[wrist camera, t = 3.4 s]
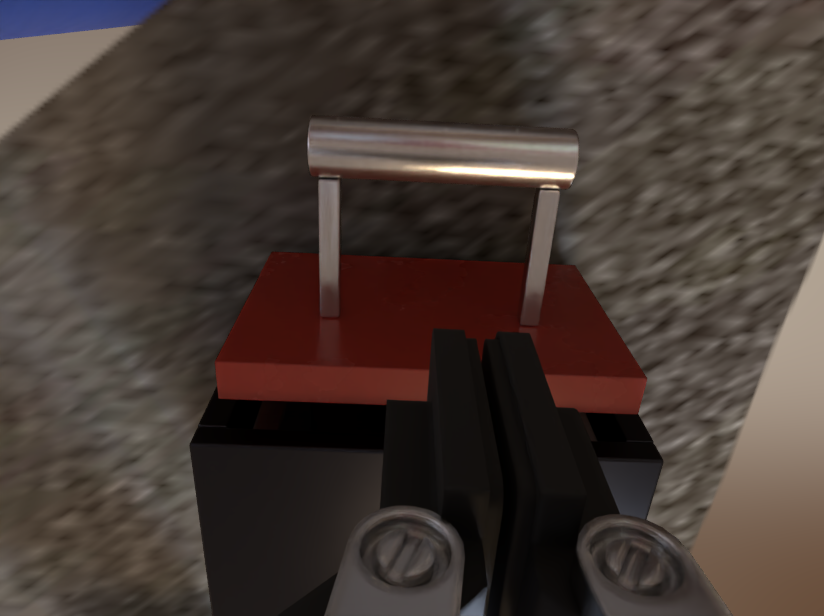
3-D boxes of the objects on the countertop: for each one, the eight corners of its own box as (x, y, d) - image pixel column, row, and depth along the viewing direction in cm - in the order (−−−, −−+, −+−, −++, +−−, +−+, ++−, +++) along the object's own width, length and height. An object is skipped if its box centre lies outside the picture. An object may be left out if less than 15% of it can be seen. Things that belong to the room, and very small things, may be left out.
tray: (263, 86, 20) (190, 132, 13) (605, 105, 21) (706, 159, 14) (285, 520, 29) (247, 685, 22) (526, 527, 29) (564, 692, 22)
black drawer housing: (262, 288, 25) (187, 444, 16) (576, 302, 25) (665, 461, 17) (278, 552, 31) (230, 762, 23) (526, 559, 32) (572, 768, 23)
